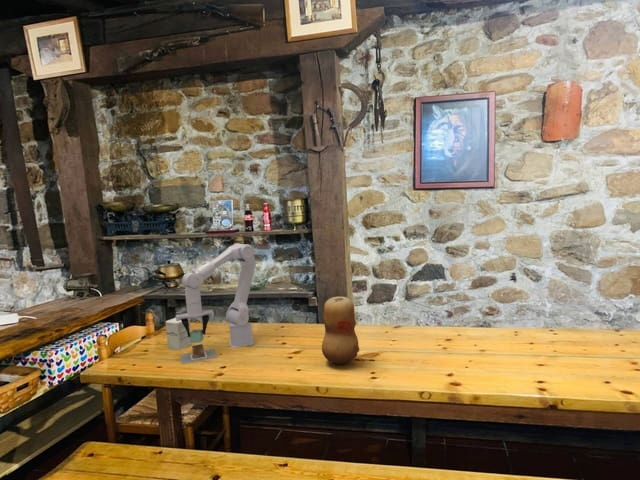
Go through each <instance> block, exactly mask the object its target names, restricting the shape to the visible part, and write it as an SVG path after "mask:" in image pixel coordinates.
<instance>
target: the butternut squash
mask: <svg viewBox="0 0 640 480" xmlns="http://www.w3.org/2000/svg"><path fill="white" fill-rule="evenodd" d="M322 316H323V318H322V319H323V325H324V336H323V339H322V344H321V353H322V355H323V357H324V358H325V359H326V360H327V361H328V362H330V363H334V364H338V365H346V364H348V363H350V362H351V361H353V360H354V359H355V358H356V357H357V356H358V353H359V351H360V347H359V346H360V345H359V339H358V336H357V334H356V330H355V328H356V324H357V321H356V319H355V318H356V316H355V305H354V302H353V301H352V300H351V299H350V298H349V297H347V296H333V297H330V298H329V299H327V300H326V301H325V302H324V306H323V315H322Z"/></svg>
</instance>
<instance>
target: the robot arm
mask: <svg viewBox="0 0 640 480" xmlns="http://www.w3.org/2000/svg"><path fill="white" fill-rule="evenodd" d="M255 255H256V251H255V249H254V247H253V246H252V245H251V244H247V243H246V244H243V243H238V242H237V243H233V244H232V245H230V246H228V247H227V248H226V250H224V251H223V252H222V253H220V254H219V255H217V257H215V258H214V259H213V260H211V261H207V260H206V261H202V262H201V263H200V265H199V266H197V267H195V268H193V269H191V271H190V272H186V273H185V274H184V275H183V277H182V280H181V283H182V285H183V286H184V293H185V303H186V312H185V313H181V314H175V318H176V321H179V320H181V321H182V323H183V325H184V327H185V329H186V331H187V334H188V337H190V332H189V322H188V319H190V320H191V319H197V318H201V321H202V322H201V323H202V330H203V336H204V335H205V336H206V332H207V327H208V323H209V322H210V316H215V314H214V310H213V309H206V310H203V307H202V299H201V298H202V297H201V289H200V288H201V285H202V283H203V282H204V281H205V280H206V279H208V278H209V277H211V276H212V275H213V274H214V273H216V269H217V268H219V267H221V266H222V265H223V264H225V263H227V262H228V261H230V260H233V259H236V260H237V261H238V262H239V264H240V266H241V271H240V274H239V280H238V284H237V287H236V291H235V296H234V300H233V302H232V303H231V304H230V305H229V307H228V309H227V311H226V313H225V318H226V321H228V324H229V326H228V327H229V335H230V341H228V343H229V345H230V347H231V348H232V349H234V348H239V347H245V346H246V347H247V346H253V345H254V336H253V335H254V334H253V326H252V323H251V322H249V319H250V317H249V311H250V309H249V306H248V304H247V303H248V299H249V294H250V291H251V285H252V282H253V279H254V274H255V268H256V258H255Z"/></svg>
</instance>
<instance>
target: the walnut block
mask: <svg viewBox="0 0 640 480" xmlns="http://www.w3.org/2000/svg"><path fill="white" fill-rule="evenodd" d="M191 347H192V349H191V350H192V352H193V357H194V359H195V358H200V357H204V350H205V349H204V346H203V344H202V343H200V344H195V345H191Z"/></svg>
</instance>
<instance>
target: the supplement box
mask: <svg viewBox="0 0 640 480" xmlns="http://www.w3.org/2000/svg"><path fill="white" fill-rule="evenodd" d="M190 321H191V319H188V322H189V332H190V333H191V332H192V331H191V323H190ZM165 329H166V331H165V332H166V343H167V349H171V350H175V351H181V350H184V349H186V348H188V347H190V346H193V345H192V344H193V343H191V342H190V337H188V334H187V331H186V329H185V327H184V325H183V323H182V321H181V320H179V321H176V317H174V318H171V319H168V320H166V321H165Z"/></svg>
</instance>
